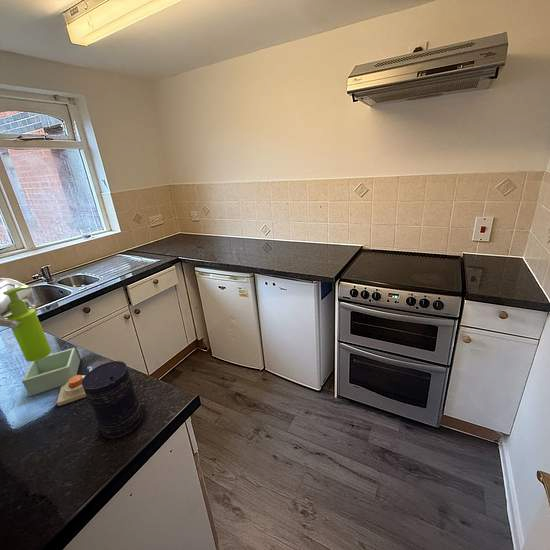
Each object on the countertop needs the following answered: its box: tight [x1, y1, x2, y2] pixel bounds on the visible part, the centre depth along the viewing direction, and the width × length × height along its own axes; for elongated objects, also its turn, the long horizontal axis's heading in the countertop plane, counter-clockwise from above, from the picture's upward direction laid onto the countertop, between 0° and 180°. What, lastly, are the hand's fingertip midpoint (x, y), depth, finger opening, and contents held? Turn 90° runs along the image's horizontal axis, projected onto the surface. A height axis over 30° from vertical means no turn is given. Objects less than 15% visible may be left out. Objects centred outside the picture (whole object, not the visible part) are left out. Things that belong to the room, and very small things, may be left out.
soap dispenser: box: [3, 285, 52, 363], centre depth 81 cm, size 6×7×20 cm
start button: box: [68, 374, 83, 388], centre depth 87 cm, size 4×4×2 cm
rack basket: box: [21, 347, 81, 397], centre depth 95 cm, size 12×12×6 cm
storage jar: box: [82, 360, 144, 439], centre depth 73 cm, size 10×10×15 cm
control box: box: [55, 374, 87, 407], centre depth 88 cm, size 10×8×3 cm
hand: (27, 319), depth 80 cm, fingers closed on soap dispenser, 6 cm apart
